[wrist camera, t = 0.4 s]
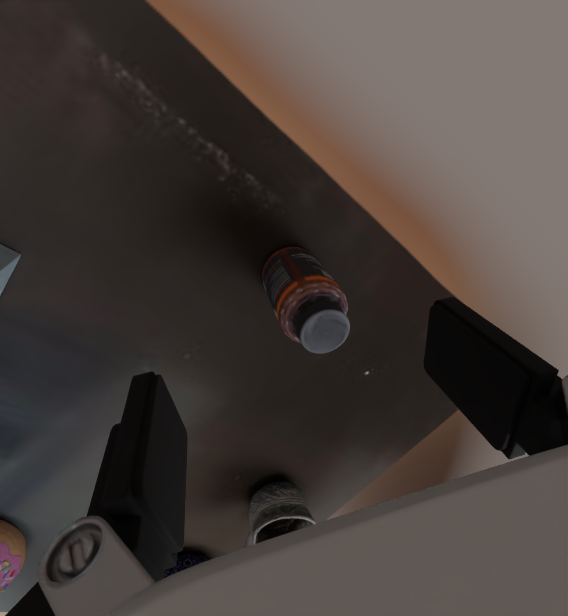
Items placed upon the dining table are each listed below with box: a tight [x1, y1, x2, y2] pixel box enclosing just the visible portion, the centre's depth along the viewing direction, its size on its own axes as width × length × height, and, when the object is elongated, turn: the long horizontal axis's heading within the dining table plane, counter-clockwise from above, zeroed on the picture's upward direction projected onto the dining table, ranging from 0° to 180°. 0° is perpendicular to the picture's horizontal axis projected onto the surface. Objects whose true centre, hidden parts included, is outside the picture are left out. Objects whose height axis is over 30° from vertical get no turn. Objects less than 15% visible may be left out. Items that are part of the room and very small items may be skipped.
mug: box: [244, 481, 316, 548], centre depth 49 cm, size 10×12×10 cm
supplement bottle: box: [262, 247, 350, 353], centre depth 29 cm, size 6×6×11 cm
